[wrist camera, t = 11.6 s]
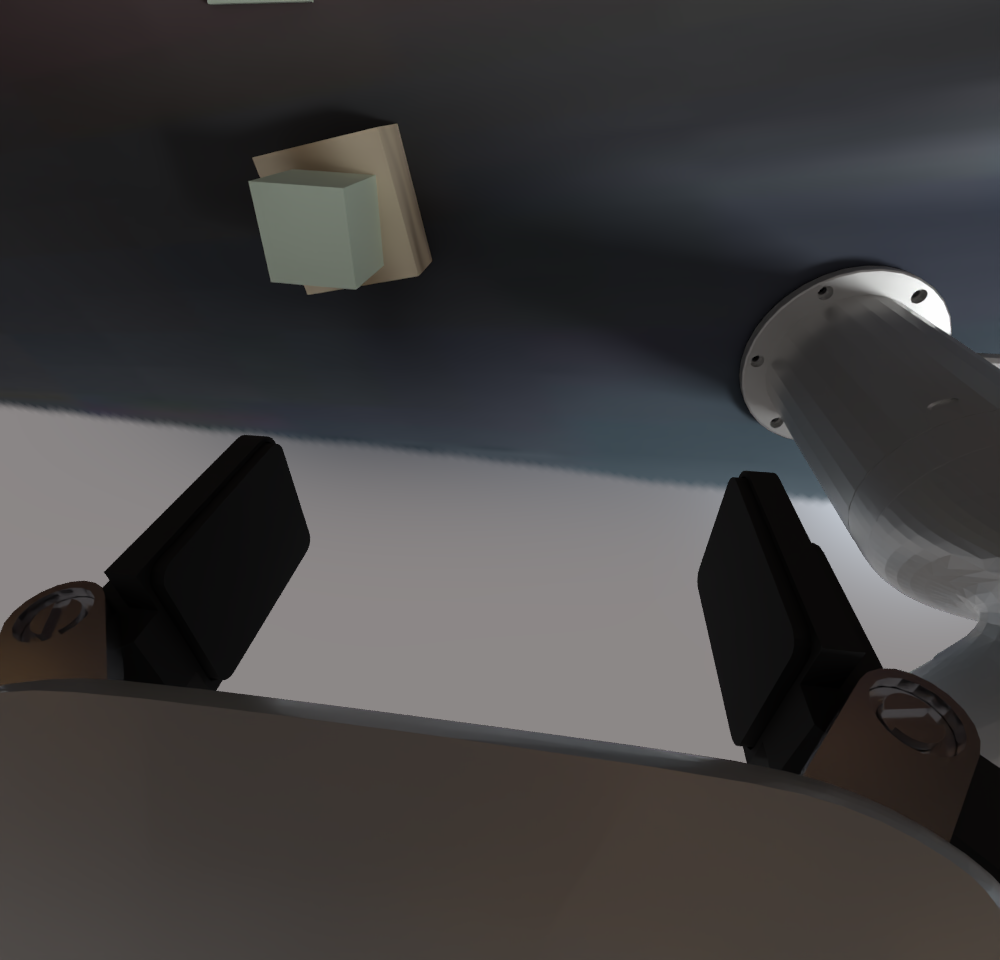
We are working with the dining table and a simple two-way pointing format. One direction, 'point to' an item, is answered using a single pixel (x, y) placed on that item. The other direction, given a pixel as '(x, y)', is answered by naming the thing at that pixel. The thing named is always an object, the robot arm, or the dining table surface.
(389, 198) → the tan square block
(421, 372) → the dining table surface
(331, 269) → the sage cube
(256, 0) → the sage swatch
